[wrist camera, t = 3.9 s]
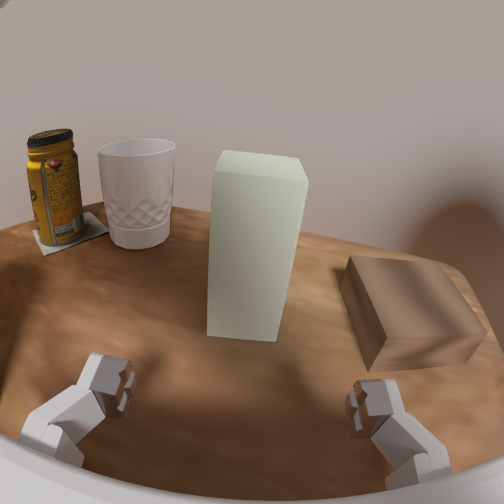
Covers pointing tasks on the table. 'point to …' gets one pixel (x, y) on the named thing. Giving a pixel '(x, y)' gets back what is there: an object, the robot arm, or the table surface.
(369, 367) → the walnut base
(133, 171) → the white cup
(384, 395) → the robot arm
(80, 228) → the condiment
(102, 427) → the table surface
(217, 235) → the sage block
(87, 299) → the table surface
